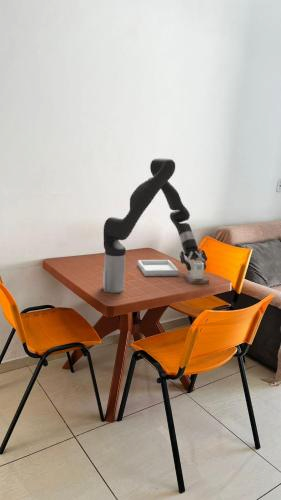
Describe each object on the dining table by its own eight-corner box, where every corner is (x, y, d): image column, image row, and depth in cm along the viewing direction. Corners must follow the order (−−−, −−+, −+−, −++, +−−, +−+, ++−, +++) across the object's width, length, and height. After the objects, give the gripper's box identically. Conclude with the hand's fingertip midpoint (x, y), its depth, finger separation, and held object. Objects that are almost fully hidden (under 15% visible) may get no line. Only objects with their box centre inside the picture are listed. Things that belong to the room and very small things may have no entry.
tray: (145, 276, 196) (145, 270, 195) (137, 265, 212) (137, 260, 212) (178, 275, 200) (178, 270, 199) (168, 265, 217) (168, 259, 216)
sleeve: (193, 279, 190) (195, 264, 188) (189, 275, 196) (191, 260, 194) (203, 279, 192) (205, 264, 189) (198, 275, 197) (200, 260, 195)
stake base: (189, 283, 189) (190, 273, 188) (183, 276, 198) (184, 266, 197) (208, 283, 191) (209, 272, 190) (201, 276, 201) (202, 266, 199)
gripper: (179, 238, 194) (188, 267, 187) (203, 237, 200) (212, 265, 193) (173, 246, 200) (182, 273, 193) (196, 245, 206) (206, 271, 199)
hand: (197, 269), depth 193 cm, fingers open, 8 cm apart
